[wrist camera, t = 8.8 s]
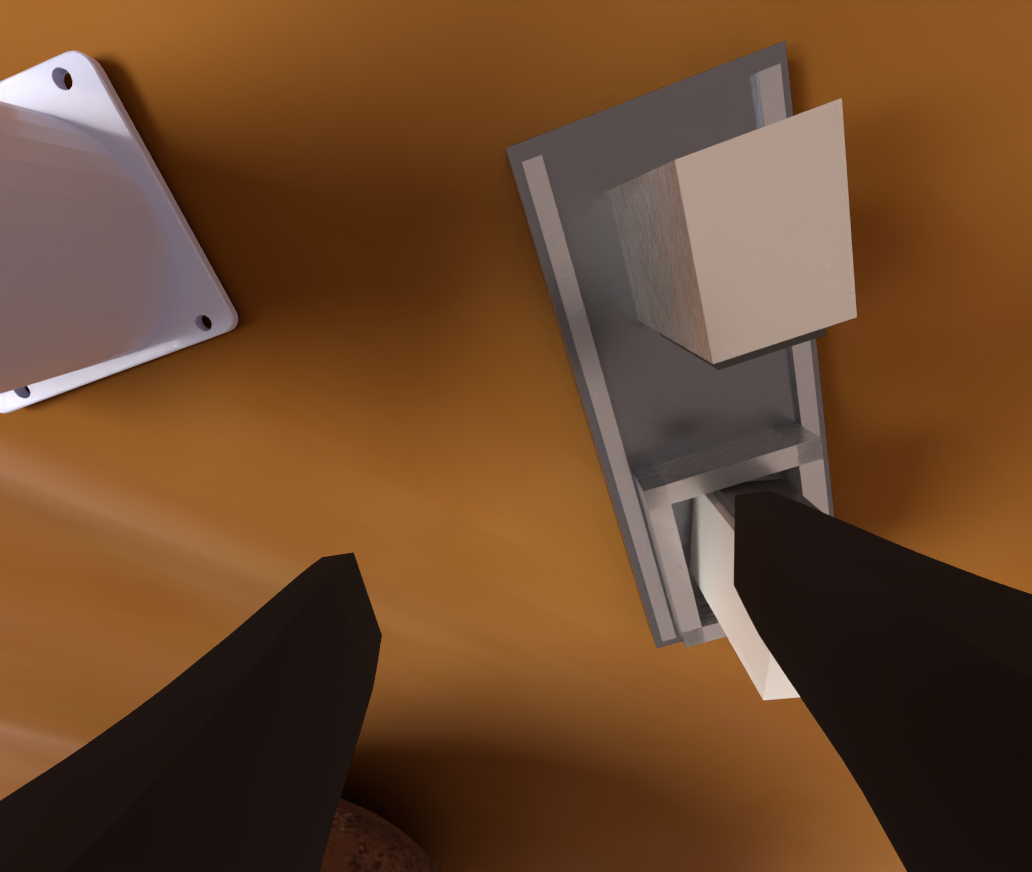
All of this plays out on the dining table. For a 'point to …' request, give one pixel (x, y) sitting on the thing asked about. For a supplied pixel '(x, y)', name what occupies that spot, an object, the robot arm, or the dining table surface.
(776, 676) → the block
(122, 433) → the dining table surface
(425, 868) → the pottery
